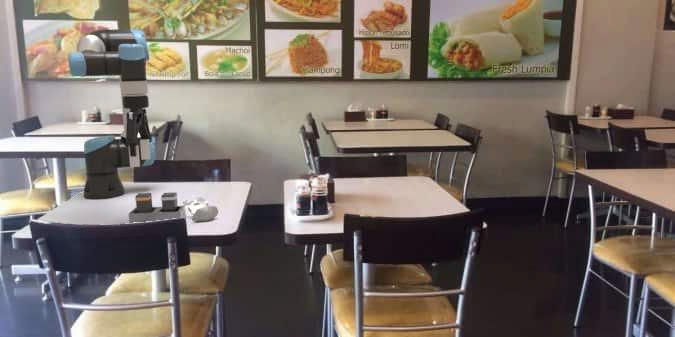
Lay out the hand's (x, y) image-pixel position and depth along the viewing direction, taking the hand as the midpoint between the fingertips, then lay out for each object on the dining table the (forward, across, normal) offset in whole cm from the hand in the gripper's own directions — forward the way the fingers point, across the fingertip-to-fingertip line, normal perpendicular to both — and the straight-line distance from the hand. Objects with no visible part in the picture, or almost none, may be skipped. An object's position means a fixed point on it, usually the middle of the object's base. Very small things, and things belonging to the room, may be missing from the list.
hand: (140, 163), depth 180 cm
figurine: (+21, -6, +16) cm, 27 cm away
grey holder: (+20, 0, +4) cm, 21 cm away
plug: (+19, 0, 0) cm, 19 cm away
